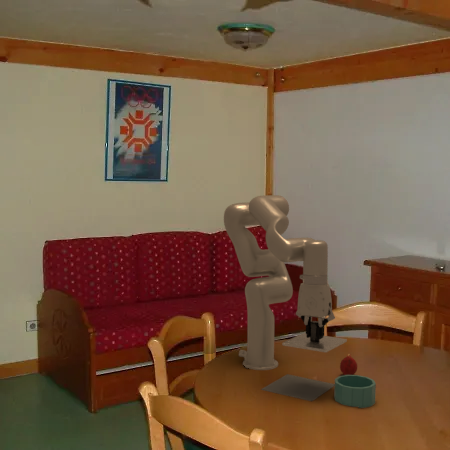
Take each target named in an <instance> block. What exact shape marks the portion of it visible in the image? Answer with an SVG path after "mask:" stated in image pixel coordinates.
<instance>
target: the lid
mask: <svg viewBox="0 0 450 450" xmlns="http://www.w3.org/2000/svg"><path fill="white" fill-rule="evenodd" d="M318 326H319V322H318V320H317V321H316V320H312V321H311V322H310V337H309V338H307V334H306V332H304V333H301V334H299V335H296V336H294V337H292V338H290V339H287V340H285V341H283V342H282V343H281V345H282V346H284V347H291V348H295V349H296V348H297V349H303V350H309V351H315V352H320V353H328V352H330V351H332V350H333V349H336V348H338V347H340V346H341V345H343V344H346V343H347V341H348V339H347V338H341V337H336V336H335V337H334V336H328V335H324V336H323V338H322V339H317V327H318Z"/></svg>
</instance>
